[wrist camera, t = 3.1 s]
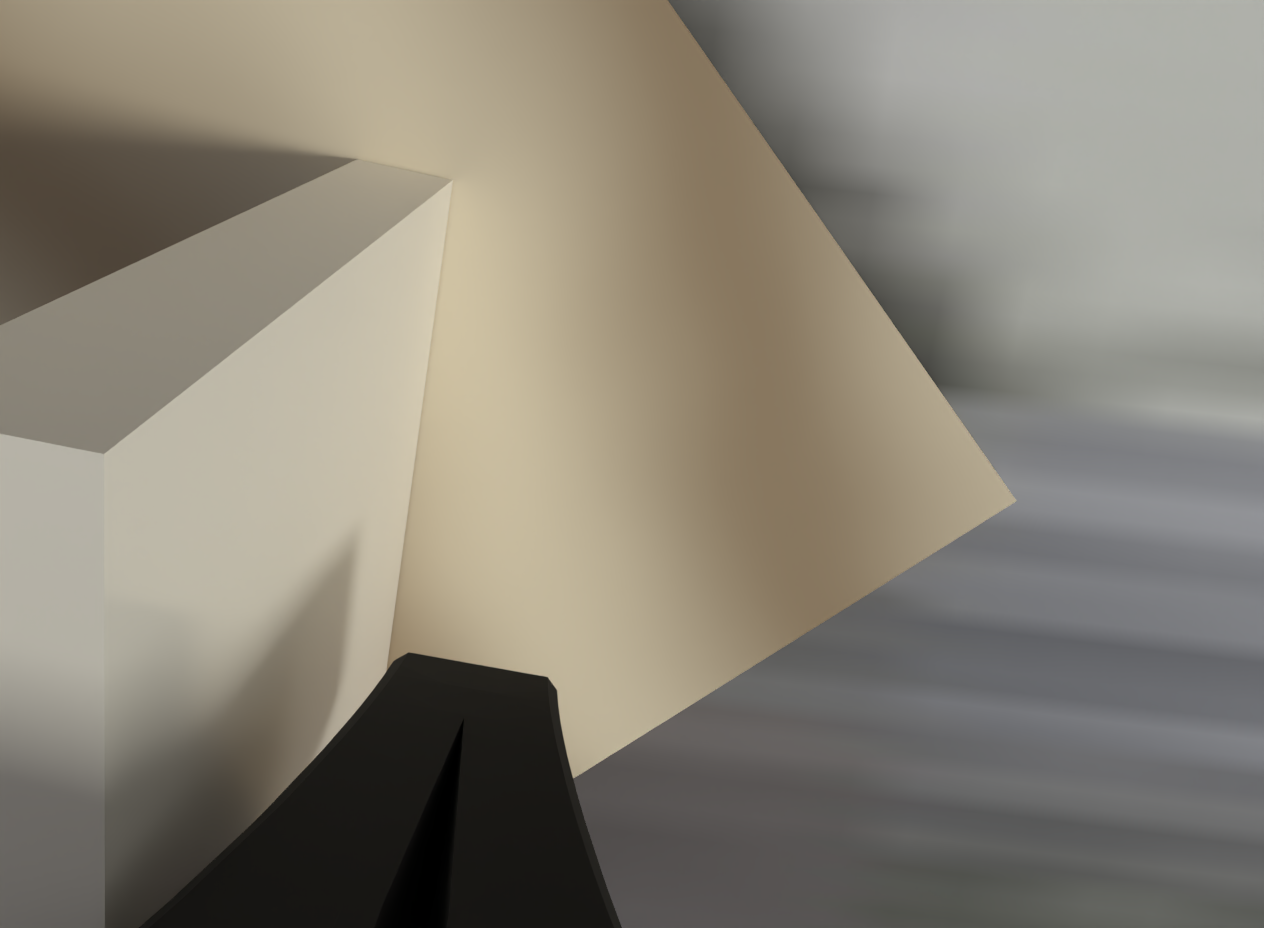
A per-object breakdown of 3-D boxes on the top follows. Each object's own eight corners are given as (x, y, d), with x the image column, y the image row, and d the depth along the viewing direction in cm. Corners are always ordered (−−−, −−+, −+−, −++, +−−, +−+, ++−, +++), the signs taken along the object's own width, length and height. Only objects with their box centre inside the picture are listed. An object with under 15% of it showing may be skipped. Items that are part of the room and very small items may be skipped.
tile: (377, 727, 15) (106, 1424, 7) (290, 711, 15) (-73, 1398, 7) (453, 179, 12) (105, 452, 4) (340, 156, 11) (-213, 391, 4)
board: (216, 965, 18) (194, 1015, 17) (-627, 335, 13) (-719, 359, 12) (991, 469, 14) (1016, 501, 13) (185, -686, 9) (137, -759, 8)
